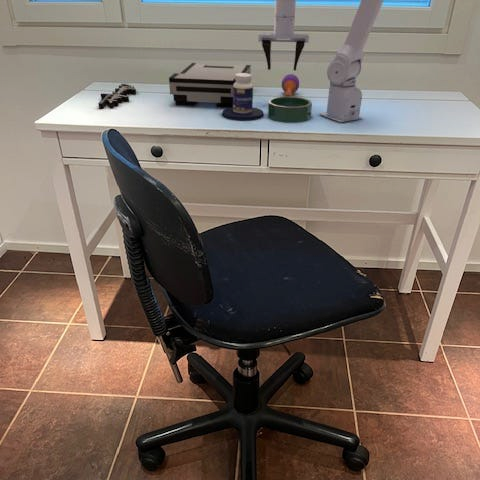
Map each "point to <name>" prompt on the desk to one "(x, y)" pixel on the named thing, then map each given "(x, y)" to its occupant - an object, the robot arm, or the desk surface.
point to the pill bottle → (242, 93)
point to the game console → (205, 84)
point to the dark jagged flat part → (117, 96)
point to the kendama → (290, 85)
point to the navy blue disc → (253, 115)
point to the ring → (289, 109)
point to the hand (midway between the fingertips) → (281, 69)
